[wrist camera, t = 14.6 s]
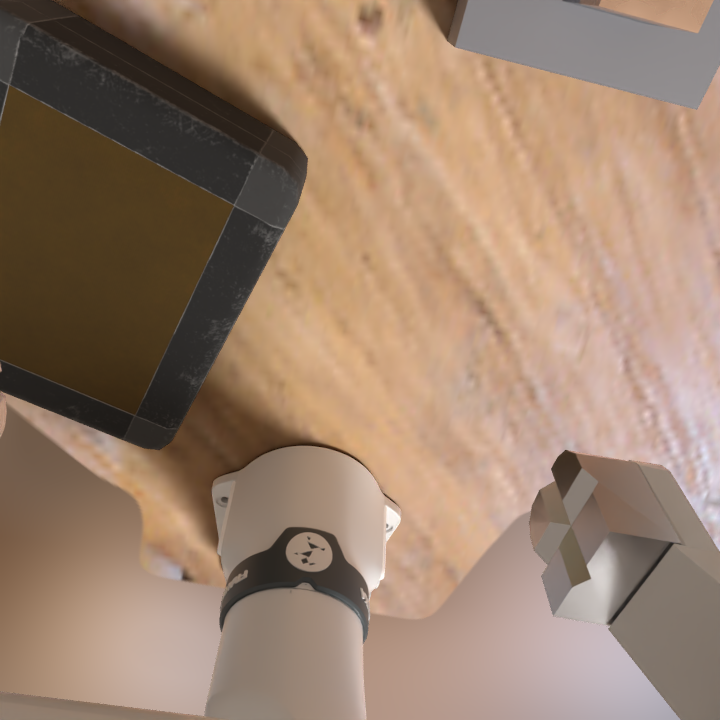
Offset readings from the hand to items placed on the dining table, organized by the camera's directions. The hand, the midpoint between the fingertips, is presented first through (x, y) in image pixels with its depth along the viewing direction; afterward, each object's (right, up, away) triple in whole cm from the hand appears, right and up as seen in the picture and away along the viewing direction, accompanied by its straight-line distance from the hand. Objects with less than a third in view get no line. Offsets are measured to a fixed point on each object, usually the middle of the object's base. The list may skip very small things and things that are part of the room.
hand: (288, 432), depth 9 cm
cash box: (-17, +11, +36) cm, 41 cm away
